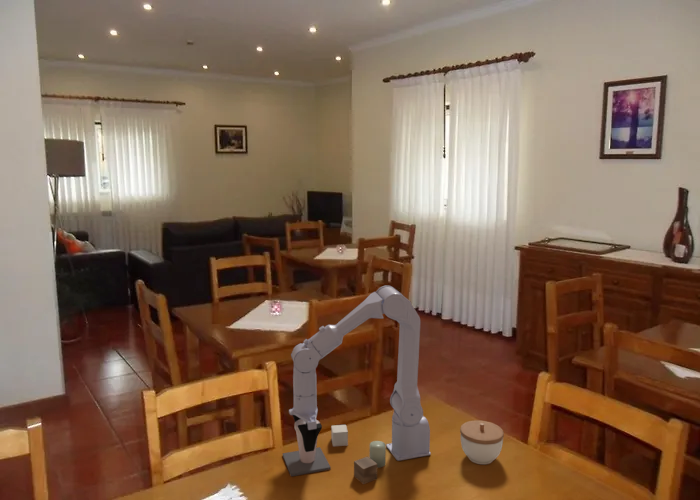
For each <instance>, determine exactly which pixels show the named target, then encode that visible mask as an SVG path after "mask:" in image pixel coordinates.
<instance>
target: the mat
mask: <svg viewBox="0 0 700 500" xmlns="http://www.w3.org/2000/svg"><path fill="white" fill-rule="evenodd" d="M282 457H283V460H284V462H285V465H286V468H287V471H288V473H289V476H290V477H295V476H302V475H307V474H312V473H317V472H323V471H329V470H331V468H332V467H331V465H330V463H329V461H328V459H327V458H326V456H325V453H324V452H323V450H322V448H321V446H320V447H316V454H315V460H314V461H313V462H311V463H303V462H301V460H300V454H299V450H295V451H290V452H289V451H288V452H284V453H282Z"/></svg>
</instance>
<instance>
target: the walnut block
mask: <svg viewBox="0 0 700 500" xmlns="http://www.w3.org/2000/svg"><path fill="white" fill-rule="evenodd" d="M353 477H354V478H355V479H356V480H358V481H359V482H360V483H361V484H362V485H365V484H367V483H370V482H371V483H372V482H373V481H375V480H378V468H377V463H375V462H374V461H373V460H372V459H370V456H365V457H363V458H359V459H357V460H354V461H353Z"/></svg>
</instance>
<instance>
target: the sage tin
mask: <svg viewBox="0 0 700 500" xmlns="http://www.w3.org/2000/svg"><path fill="white" fill-rule="evenodd" d="M386 449H387V447H386V443H385V442H384V441H381V440H373V441H371V442H369V458H370V459H372V460H373V461H374V462H375V463H377V469H378V468H383V467H384V466H386V453H387V451H386Z"/></svg>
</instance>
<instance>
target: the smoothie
mask: <svg viewBox="0 0 700 500" xmlns="http://www.w3.org/2000/svg"><path fill="white" fill-rule="evenodd" d="M316 421H317V424H318V423H320V421H319V420H317V419H316ZM302 424H306V422H305V421H303V420H302V419H300V420H298V421H296V422H295V421H294V430H295V432H296V440H297V446H298V451H299V454H300V460H301V462H303V463H311V462H313V461H314V460H315V454H316V448H317V443H318V439H317V440H316V444H315V448H314V451H310V452H306V451H305V449H304V444H303V438H302V434H301V432H300V430H299V428H298V425H302Z"/></svg>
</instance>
